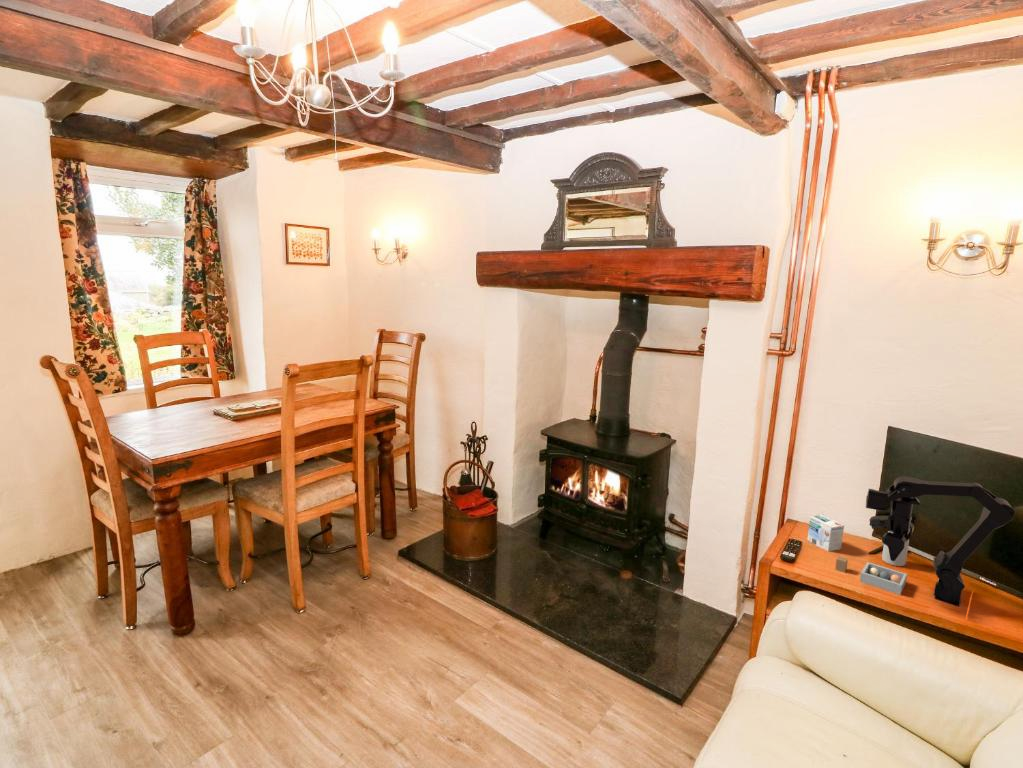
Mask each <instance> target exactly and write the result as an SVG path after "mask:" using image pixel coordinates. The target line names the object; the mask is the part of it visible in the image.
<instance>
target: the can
mask: <svg viewBox="0 0 1023 768" xmlns="http://www.w3.org/2000/svg"><path fill="white" fill-rule="evenodd" d="M887 532H890V533H892V531H887ZM909 544H910V538H909V539H908V540H907V542H906V545H905V547H904V549H903V550H902V552H901V553H900V554H899V556H898V557H897V558H896V560H895V561H891V559H890V554H889V549H888V546H887V545H885V544H884V543H883V546H882V547H883V549H882V554H881V559H882V561H883V562H884V563H887V565H891V566H894V567H904V566H906V564H907V556H908V550H909Z"/></svg>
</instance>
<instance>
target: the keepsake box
mask: <svg viewBox="0 0 1023 768" xmlns="http://www.w3.org/2000/svg"><path fill="white" fill-rule="evenodd" d="M870 568H876V569H877V570H878V571H879V575H878V576H874V575H870V573H869V570H870ZM882 571H885V572H887V573H889V575H890V578H889V579H888V580H886V579H883V578H880V573H881V572H882ZM892 575H898V576H899V577H900V578H901V581H900V583H895V582H892V581H891V576H892ZM907 577H908V574H907V573H905V572H901V571H898V570H894V569H892V568H889V567H885V566H882V565H878V564H877V563H876V564H875V563H872V562H870V561H866V564H865V565H864V566H863V568H862V569H861V572H860V576H859V582H860V583H863V584H865V585H868V586H872V587H875V588H877V589H881V590H884V591H886V592H890V593H893V594H895V595H896V594H897V595H899V596H901V595H902V592H903V590H904V588H905V586H906V583H907Z"/></svg>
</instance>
